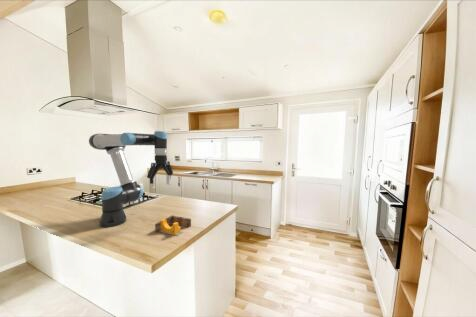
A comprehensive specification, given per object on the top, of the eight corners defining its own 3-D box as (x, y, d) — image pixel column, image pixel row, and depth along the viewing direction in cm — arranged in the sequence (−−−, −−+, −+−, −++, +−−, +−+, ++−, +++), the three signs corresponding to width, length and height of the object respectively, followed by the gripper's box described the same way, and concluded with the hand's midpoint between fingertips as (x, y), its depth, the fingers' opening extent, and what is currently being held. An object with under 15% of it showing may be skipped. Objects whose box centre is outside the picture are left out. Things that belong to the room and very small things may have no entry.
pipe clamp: (180, 232, 113) (180, 221, 112) (175, 235, 109) (175, 224, 108) (166, 227, 118) (166, 217, 118) (160, 230, 114) (160, 220, 114)
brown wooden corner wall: (155, 231, 114) (155, 223, 113) (172, 222, 127) (172, 215, 127) (175, 236, 108) (175, 228, 108) (191, 226, 122) (190, 218, 121)
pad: (160, 231, 113) (160, 231, 113) (166, 228, 118) (166, 227, 118) (177, 235, 109) (177, 235, 109) (183, 232, 113) (183, 231, 113)
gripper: (149, 156, 111) (149, 191, 112) (178, 154, 133) (178, 183, 135) (140, 155, 113) (140, 189, 115) (170, 153, 136) (170, 182, 138)
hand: (160, 186), depth 125 cm, fingers open, 13 cm apart
